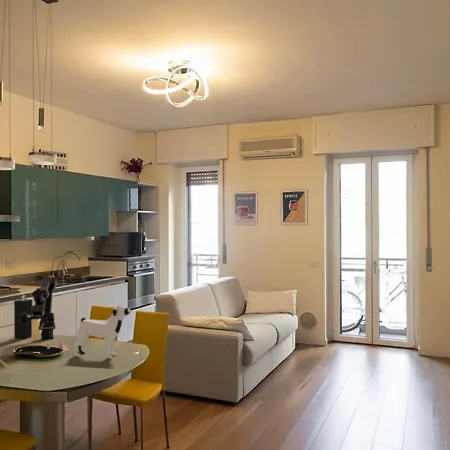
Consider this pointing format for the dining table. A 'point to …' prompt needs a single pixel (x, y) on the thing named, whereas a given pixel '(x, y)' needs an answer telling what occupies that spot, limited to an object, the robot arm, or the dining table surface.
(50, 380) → the dining table surface
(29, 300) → the black square column
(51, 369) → the dining table surface
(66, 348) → the board
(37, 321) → the post
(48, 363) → the dining table surface
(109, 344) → the decorative sculpture
